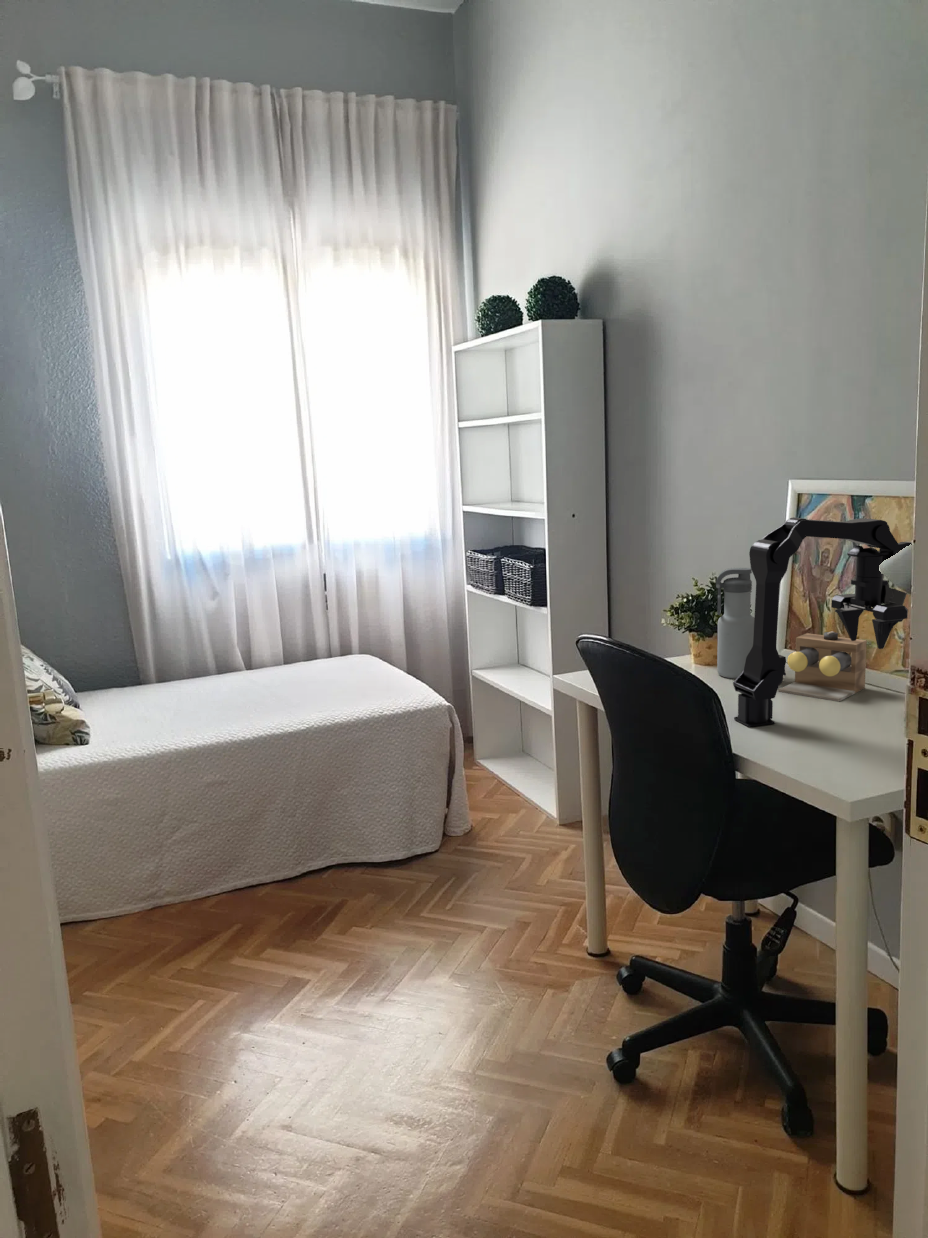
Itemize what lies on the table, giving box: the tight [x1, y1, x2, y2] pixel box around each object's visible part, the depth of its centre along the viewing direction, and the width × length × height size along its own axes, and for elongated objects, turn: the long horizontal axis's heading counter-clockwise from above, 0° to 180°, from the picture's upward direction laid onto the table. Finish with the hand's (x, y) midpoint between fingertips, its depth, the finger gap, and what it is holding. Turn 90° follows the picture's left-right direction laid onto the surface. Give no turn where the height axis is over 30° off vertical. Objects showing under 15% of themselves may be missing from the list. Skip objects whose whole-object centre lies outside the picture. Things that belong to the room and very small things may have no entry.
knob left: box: [786, 647, 819, 672], centre depth 233 cm, size 8×5×5 cm, turn 135°
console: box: [778, 630, 868, 702], centre depth 232 cm, size 14×15×14 cm
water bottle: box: [715, 567, 755, 680], centre depth 248 cm, size 10×10×28 cm
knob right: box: [819, 651, 851, 676], centre depth 228 cm, size 8×5×5 cm, turn 135°
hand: (866, 644), depth 214 cm, fingers open, 9 cm apart
